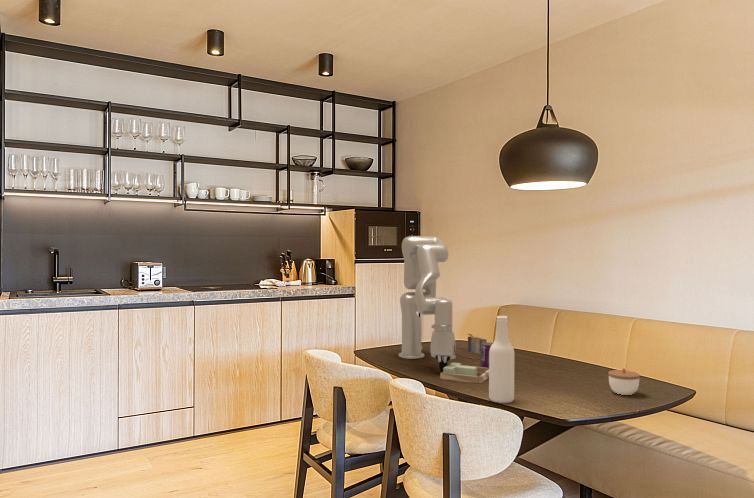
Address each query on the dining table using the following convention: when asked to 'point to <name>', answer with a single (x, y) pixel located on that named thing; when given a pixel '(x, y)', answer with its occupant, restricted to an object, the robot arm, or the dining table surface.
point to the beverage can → (484, 354)
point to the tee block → (460, 369)
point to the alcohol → (501, 365)
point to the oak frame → (467, 376)
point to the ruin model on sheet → (475, 343)
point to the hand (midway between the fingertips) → (443, 371)
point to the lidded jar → (623, 381)
